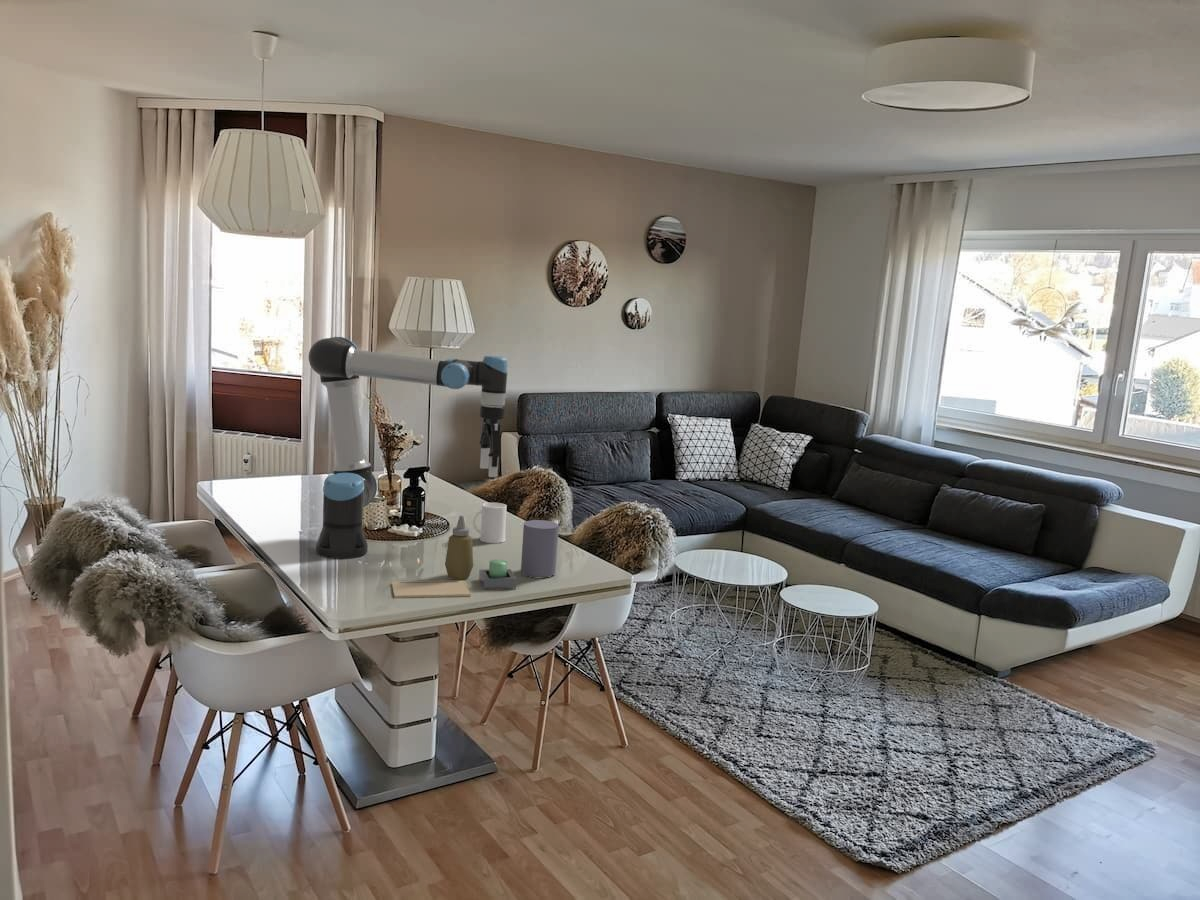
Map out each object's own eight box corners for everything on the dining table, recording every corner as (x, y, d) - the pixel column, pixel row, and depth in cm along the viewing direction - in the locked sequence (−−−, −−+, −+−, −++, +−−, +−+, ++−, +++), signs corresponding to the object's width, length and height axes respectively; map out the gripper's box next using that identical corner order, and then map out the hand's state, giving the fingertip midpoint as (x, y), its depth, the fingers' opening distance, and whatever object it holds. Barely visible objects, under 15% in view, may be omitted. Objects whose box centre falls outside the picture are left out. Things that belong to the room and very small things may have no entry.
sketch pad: (394, 597, 239) (394, 595, 239) (391, 583, 250) (391, 581, 250) (470, 596, 245) (470, 594, 245) (464, 582, 256) (464, 580, 256)
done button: (490, 582, 254) (491, 564, 253) (487, 576, 258) (488, 559, 257) (507, 581, 255) (508, 564, 254) (504, 576, 260) (505, 559, 259)
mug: (476, 545, 296) (478, 509, 294) (466, 538, 303) (468, 503, 301) (509, 542, 302) (511, 507, 300) (498, 536, 309) (500, 501, 308)
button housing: (483, 589, 251) (484, 579, 251) (478, 579, 260) (479, 569, 259) (515, 589, 254) (516, 578, 253) (509, 579, 262) (510, 569, 262)
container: (520, 567, 275) (523, 519, 273) (555, 569, 276) (558, 521, 273) (520, 577, 265) (523, 527, 262) (555, 579, 266) (559, 529, 263)
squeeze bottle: (445, 572, 264) (448, 512, 261) (473, 573, 265) (476, 513, 262) (443, 581, 256) (446, 518, 253) (471, 582, 257) (475, 520, 254)
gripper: (513, 411, 273) (508, 480, 277) (496, 401, 297) (492, 465, 300) (489, 410, 271) (484, 480, 274) (473, 400, 294) (469, 464, 297)
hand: (488, 472), depth 287 cm, fingers open, 13 cm apart
